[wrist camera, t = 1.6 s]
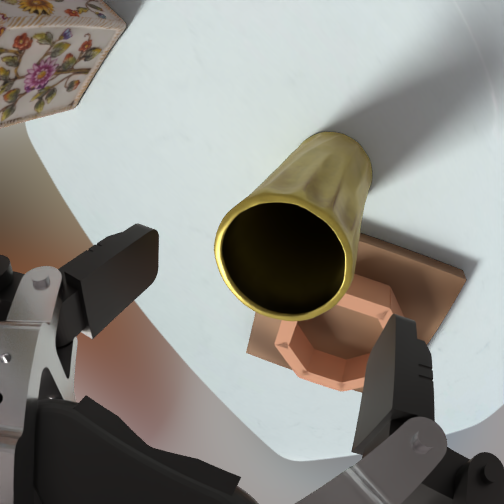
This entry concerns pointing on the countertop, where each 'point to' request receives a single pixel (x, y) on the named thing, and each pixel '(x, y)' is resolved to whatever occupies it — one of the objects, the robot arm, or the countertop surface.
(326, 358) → the holder ring
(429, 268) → the board
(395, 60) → the countertop surface
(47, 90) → the decorative jar
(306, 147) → the vase
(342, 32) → the countertop surface
